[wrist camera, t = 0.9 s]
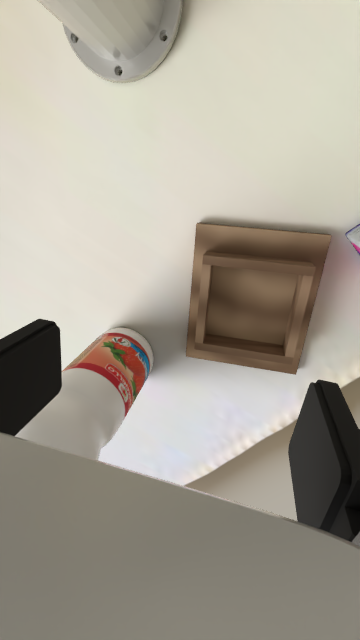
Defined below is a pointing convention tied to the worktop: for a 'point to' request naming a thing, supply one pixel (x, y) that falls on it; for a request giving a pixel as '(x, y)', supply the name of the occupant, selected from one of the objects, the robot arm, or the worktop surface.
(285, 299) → the holder
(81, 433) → the fruit juice
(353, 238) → the supplement box
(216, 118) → the worktop surface
